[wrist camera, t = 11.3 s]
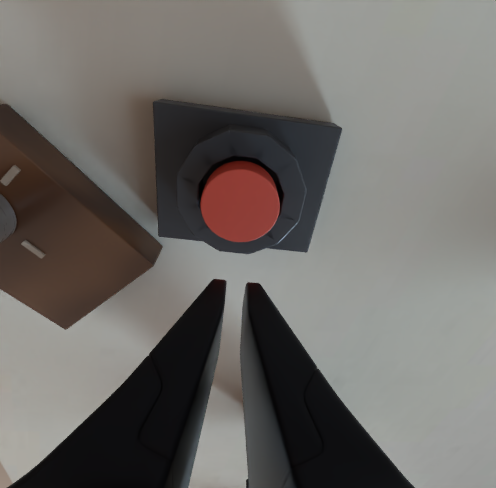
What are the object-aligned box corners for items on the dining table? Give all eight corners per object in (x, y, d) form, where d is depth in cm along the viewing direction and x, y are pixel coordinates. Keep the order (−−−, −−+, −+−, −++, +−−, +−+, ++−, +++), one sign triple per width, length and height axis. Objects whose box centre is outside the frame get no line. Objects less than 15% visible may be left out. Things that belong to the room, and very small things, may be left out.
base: (163, 246, 21) (153, 267, 18) (81, 307, 24) (64, 332, 22) (-13, 85, 15) (-58, 87, 13) (-89, 191, 18) (-136, 208, 16)
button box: (334, 123, 16) (354, 134, 13) (303, 240, 21) (312, 268, 18) (161, 98, 16) (141, 104, 13) (164, 224, 20) (150, 251, 17)
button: (283, 165, 15) (286, 174, 13) (270, 232, 17) (272, 246, 15) (206, 155, 14) (201, 163, 13) (202, 224, 16) (198, 238, 15)
